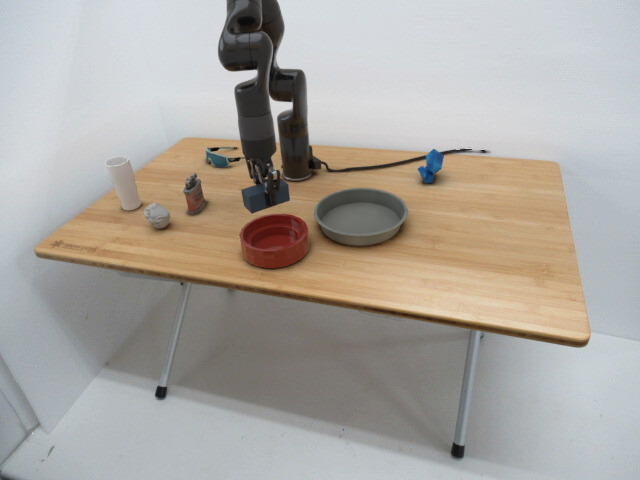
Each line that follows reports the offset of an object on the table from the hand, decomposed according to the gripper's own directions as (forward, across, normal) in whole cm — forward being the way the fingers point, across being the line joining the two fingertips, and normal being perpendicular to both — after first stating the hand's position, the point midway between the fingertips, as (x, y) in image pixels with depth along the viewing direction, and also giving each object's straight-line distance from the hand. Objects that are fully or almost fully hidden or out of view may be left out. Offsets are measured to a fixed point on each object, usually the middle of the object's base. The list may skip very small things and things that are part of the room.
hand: (266, 201), depth 109 cm
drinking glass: (+14, +45, +25) cm, 54 cm away
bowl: (+14, 0, 0) cm, 14 cm away
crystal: (+14, +5, -56) cm, 58 cm away
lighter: (+14, +32, +9) cm, 36 cm away
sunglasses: (+14, +60, -12) cm, 62 cm away
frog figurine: (+14, +28, +21) cm, 38 cm away
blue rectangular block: (0, 0, 0) cm, 0 cm away
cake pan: (+14, -3, -24) cm, 28 cm away
